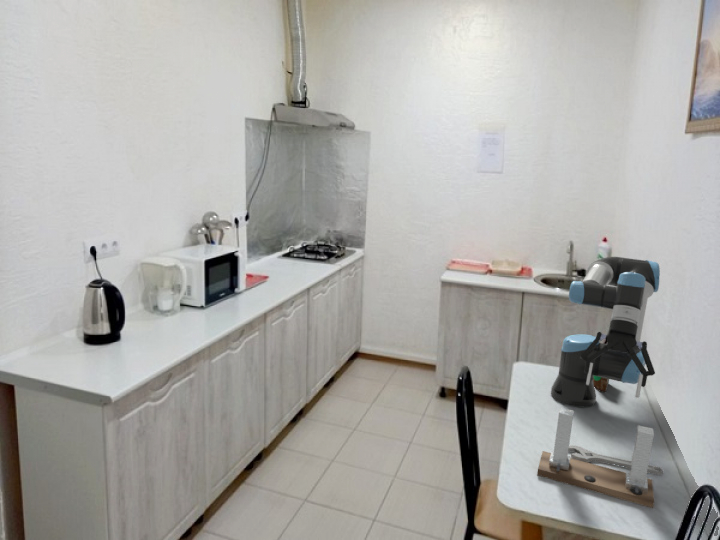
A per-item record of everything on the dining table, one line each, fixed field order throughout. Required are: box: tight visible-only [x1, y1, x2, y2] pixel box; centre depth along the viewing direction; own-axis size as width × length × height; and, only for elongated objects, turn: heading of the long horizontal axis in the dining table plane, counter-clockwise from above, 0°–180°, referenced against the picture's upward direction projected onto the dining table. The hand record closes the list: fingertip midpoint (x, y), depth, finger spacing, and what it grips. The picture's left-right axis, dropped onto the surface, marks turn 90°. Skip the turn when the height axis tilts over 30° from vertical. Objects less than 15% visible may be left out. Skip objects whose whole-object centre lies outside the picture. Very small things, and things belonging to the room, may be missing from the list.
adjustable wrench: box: [568, 444, 664, 476], centre depth 151 cm, size 25×6×2 cm, turn 65°
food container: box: [593, 376, 610, 393], centre depth 201 cm, size 12×6×10 cm, turn 149°
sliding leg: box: [549, 407, 575, 471], centre depth 144 cm, size 7×5×16 cm
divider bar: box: [536, 450, 655, 509], centre depth 143 cm, size 10×28×2 cm, turn 64°
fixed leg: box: [625, 424, 655, 493], centre depth 136 cm, size 7×5×16 cm
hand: (611, 390), depth 157 cm, fingers open, 13 cm apart
